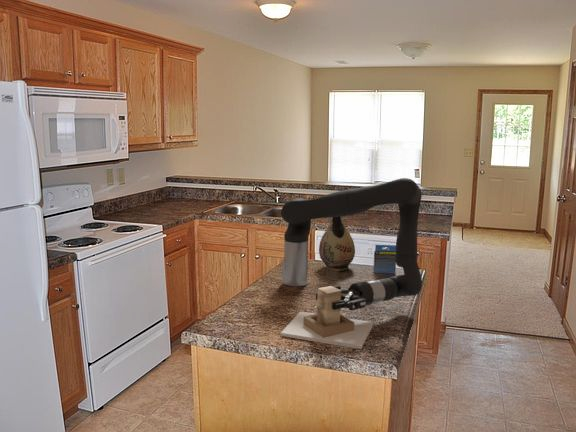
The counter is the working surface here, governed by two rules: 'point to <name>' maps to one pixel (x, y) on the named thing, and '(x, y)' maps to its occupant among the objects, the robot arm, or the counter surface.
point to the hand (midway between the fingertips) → (324, 301)
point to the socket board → (336, 339)
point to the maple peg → (328, 306)
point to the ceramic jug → (337, 246)
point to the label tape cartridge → (385, 259)
